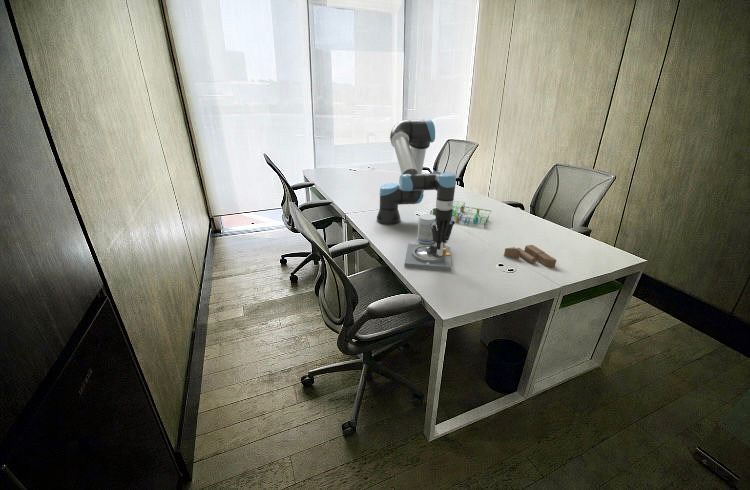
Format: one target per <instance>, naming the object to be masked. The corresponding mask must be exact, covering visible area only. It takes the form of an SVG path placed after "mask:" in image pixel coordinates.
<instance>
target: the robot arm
mask: <svg viewBox="0 0 750 490" xmlns="http://www.w3.org/2000/svg"><path fill="white" fill-rule="evenodd" d="M389 140H390V144H391V146H392V147H393V148H394V151H395V155H396V158H397V162H398V165H399V169H400V172H401V173H400V176H399V178H398V179H399V180H398V183H394V182H388V183H386V184H382V185H381V186H380V187H379V208H378V212H377V215H376V221H377V223H380V224H381V225H387V226H388V225H389V226H390V225H391V226H392V225H397V224H398V223H400V222H401V215H400V211H399V206H400V205H416V204H417V205H418V204H420V203H421V202H422V201H423V199H424V191H437V192H436V202H435V208H436V212H435V214H434V215H435V216H436V219H435V222H434V223H433V224H430V226H431V228H432V235H433V241H434V242H433V243H436V245H435V246H436V248H437V254H438V255H439V256H442V255H443V248H444V246H445V247H446V245H445V244H447V242H448V241H449V240H450V236H451V234H452V231H453V227H454V225H455V223H456V222H455V220H452V218H453V216H452V209H454V208H453V206H454V201H455V200H454V199H455V191H456V185H457V181H456V180H457V176H456V174H454V173H450V172H440V171H433V172H431V173H423V167H424V163H425V158H426V157H425V156H426V151H427V149H429V148H430V145H431V143H434V142H435V140H436V127H435V123H434V121H432V119H425V118H423V119H402V120H400V121H398V122H397V123H396V124H395V125H394V126H393V127H392V129H391V131H390V136H389ZM451 217H452V218H451Z"/></svg>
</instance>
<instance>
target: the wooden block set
mask: <svg viewBox="0 0 750 490" xmlns="http://www.w3.org/2000/svg"><path fill="white" fill-rule="evenodd" d="M503 257H506V258H512V259H516V260H517V259H518V260H519V259H520V257H521V258H522V259H523V260H526V261H527V262H528V263H530V264H531V265H532V264H535V263H536V262H537V263H540V264H541V265H542V266H544V267H547V268H548V267H549V268H555V267H556V263H557V259H556V258H554V257H553V256H551V255H549V254H547V253H546V252H545V251H544V250H542V249H541V248H539V247H537V246H536V245H534V244H527V245H525V246H524V249H522V248H520V247H515V246H513V247H507V248H504V254H503Z"/></svg>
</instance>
